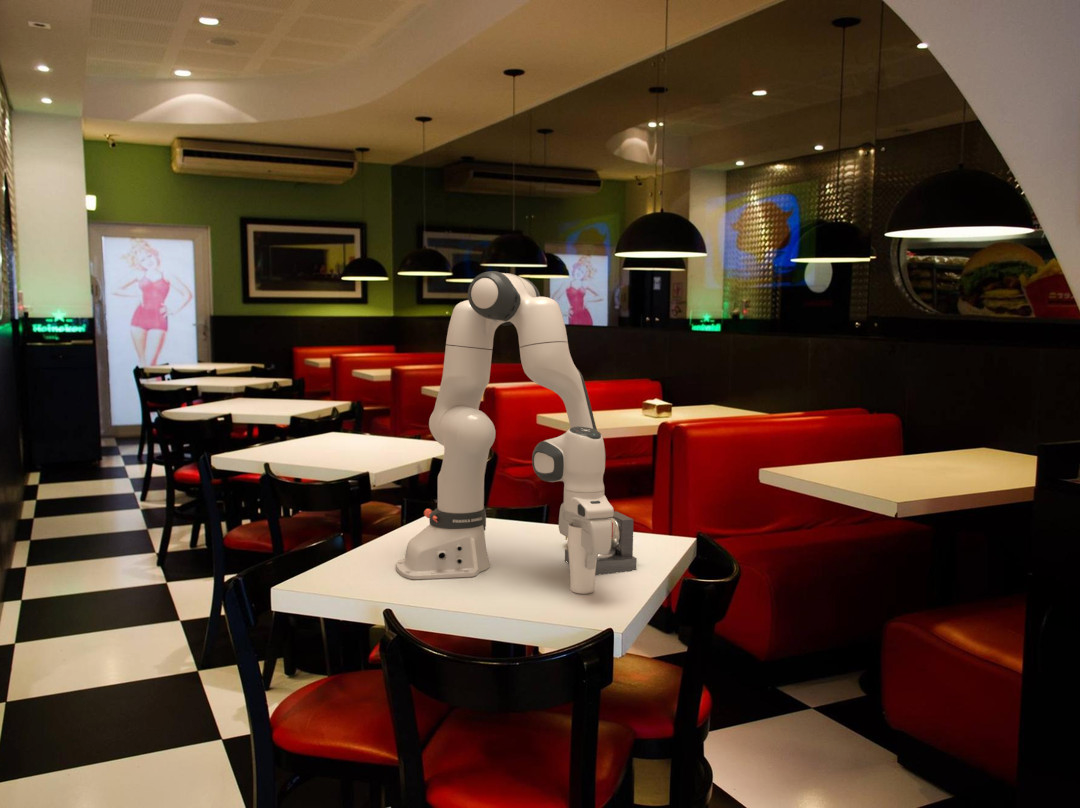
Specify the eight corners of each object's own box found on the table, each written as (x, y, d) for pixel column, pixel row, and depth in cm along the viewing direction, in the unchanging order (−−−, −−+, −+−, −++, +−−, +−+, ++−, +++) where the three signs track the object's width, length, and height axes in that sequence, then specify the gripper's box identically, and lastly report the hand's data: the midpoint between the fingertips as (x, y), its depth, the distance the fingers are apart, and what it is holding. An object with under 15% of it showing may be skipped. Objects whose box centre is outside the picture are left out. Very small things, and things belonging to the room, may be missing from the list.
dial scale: (587, 576, 198) (588, 525, 196) (564, 560, 210) (565, 513, 208) (636, 570, 202) (637, 521, 201) (611, 556, 214) (612, 509, 213)
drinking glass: (562, 593, 185) (563, 526, 183) (572, 584, 191) (573, 519, 190) (592, 597, 182) (593, 529, 181) (601, 588, 189) (602, 522, 187)
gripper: (552, 493, 193) (551, 552, 195) (590, 513, 174) (588, 578, 176) (577, 491, 195) (576, 550, 197) (617, 510, 177) (616, 575, 178)
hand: (582, 563), depth 186 cm, fingers closed on drinking glass, 6 cm apart
